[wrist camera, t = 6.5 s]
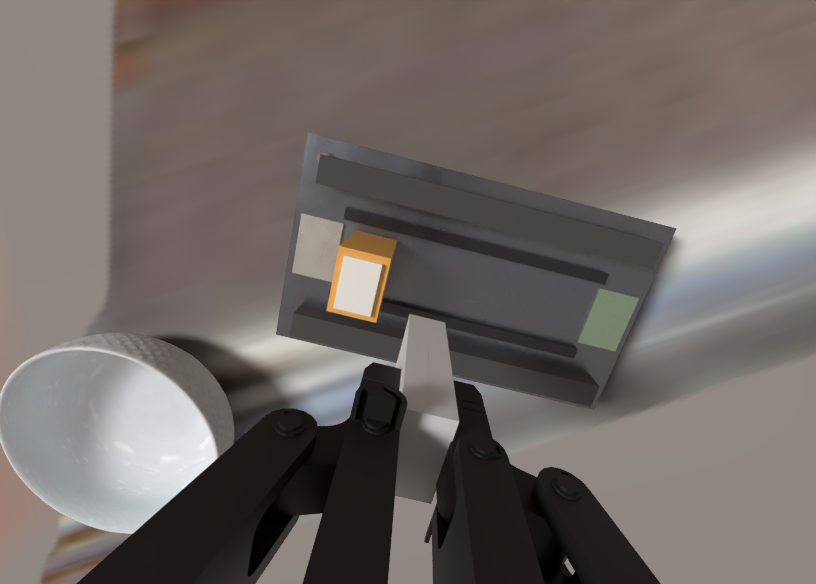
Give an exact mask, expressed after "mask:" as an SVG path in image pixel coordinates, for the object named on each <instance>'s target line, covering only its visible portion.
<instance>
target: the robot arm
mask: <svg viewBox="0 0 816 584" xmlns="http://www.w3.org/2000/svg"><path fill="white" fill-rule="evenodd" d="M435 491H437V504H436V507H435V510H434V513H433V516H432V519H431V521H430V524H429V527H428V530H427V533H426V536H425V541H424V542H426V543H429V540H430V537H431V535H432V553H433V554H432V555H433V584H660V582H659V581H658V580H657V578H656V577H655V576H654V574H653V573H652V572H651V571H650V569H649V568H648V566H647V565H646V564H645V563H644V561H643V560H642V559H641V557H640V556H639V555H638V553H637V552H636V551H635V550H634V548H633V547H632V545H631V544H630V543H629V541H628V540H627V539H626V537H625V536H624V535H623V533H622V532H621V531H620V529H619V528H618V527H617V526H616V524H615V523H614V522H613V520H612V519H611V518H610V517H609V515H608V514H607V512H606V511H605V510H604V508H603V507H602V506H601V505H600V503H599V502H598V500H597V499H596V498H595V497H594V495H593V494H592V493H591V491H590V490H589V489H588V488H587V487H586V485H585V484H584V483H583V482H582V481H581V480H579V479H578V478H576V477H575V476H574V475H572V474H571V473H569V472H566V471H564V470H562V469H558V468H554V467H549V468H544V469H543V470H541V471H540V472H539V475H538V477H535V476H533V475H531V474H529V473H526V472H524V471H522V470H520V469H518V468H516V467H514V466H513V465H511V464H510V462H509V459H508V455H507V454H506V452H505V450H504V448H503V447H502V446H501V445H500V444H499V443H498V442H497V441H495V440H493V438H492V434H491V430H490V426H489V423H488V419H487V415H486V411H485V407H484V403H483V399H482V395H481V394H480V393H479V391H478V390H477V389H476V388H475V386H474V385H471V384H467V383H463V382H458V381H454V380H453V375H452V368H451V361H450V354H449V347H448V340H447V333H446V326H445V322H441V321H437V320H433V319H429V318H424V317H420V316H416V315H412V314H410V315H409V318H408V322H407V326H406V330H405V333H404V337H403V341H402V345H401V349H400V352H399V356H398V360H397V364H396V367H391V366H386V365H382V364H378V363H374V362H373V363H372V364H370V365H369V366H368V367H366V368H365V370H364V374H363V378H362V381H361V384H360V387H359V388H358V390H357V391H356V394H355V398H354V403H353V407H352V411H351V415H350V417H349V418H348V419H347V420H346V421H345V422H343V423H341V424H337V425H334V426H317V422H316V421H315V419H314V418H313V417H312V416H311V415H309V414H308V413H306V412H304V411H301V410H297V409H280V410H276V411H273V412H271V413H269V414H268V415H266V416H265V417H264V418H262V419H261V420H260V421H259V422H258V423H257V424H256V425H255V426H253V427H252V428H251V429H250V430H249V431H248V432H247V433H246V434H244V435H243V436H242V437H241V438H240V439H239V440H238V441H237V442H235V443H234V444H233V445H232V446H231V447H230V448H229V449H228V450H226V451H225V452H224V453H223V454H222V455H221V456H220V457H219V458H217V459H216V460H215V461H214V462H213V463H212V464H211V465H210V466H208V467H207V468H206V469H205V470H204V471H203V472H202V473H201V474H199V475H198V476H197V477H196V478H195V479H194V480H193V481H192V482H190V483H189V484H188V485H187V486H186V487H185V488H184V489H183V490H181V491H180V492H179V493H178V494H177V495H176V496H175V497H174V498H172V499H171V500H170V501H169V502H168V503H167V504H166V505H165V506H163V507H162V508H161V509H160V510H159V511H158V512H157V513H155V514H154V515H153V516H152V517H151V518H150V519H149V520H148V521H146V522H145V523H144V524H143V525H142V526H141V527H140V528H139V529H137V530H136V531H135V532H134V533H133V534H132V535H131V536H130V537H128V538H127V539H126V540H125V541H124V542H123V543H122V544H121V545H119V546H118V547H117V548H116V549H115V550H114V551H113V552H112V553H110V554H109V555H108V556H107V557H106V558H105V559H104V560H103V561H101V562H100V563H99V564H98V565H97V566H96V567H95V568H94V569H92V570H91V571H90V572H89V573H88V574H87V575H86V576H85V577H83V578H82V579H81V580H80V581H79V582H78V583H77V584H255V583H256V582H257V580H258V579H259V577H260V575H261V574H262V573H263V571H264V570H265V568H266V567H267V566H268V564H269V563H270V561H271V560H272V558H273V557H274V555H275V553H276V552H277V551H278V549H279V548H280V546H281V545H282V543H283V542H284V540H285V539H286V537H287V536H288V534H289V533H290V531H291V530H292V528H293V527H294V525H295V524H296V522H297V520H298V518H299V516H300V515H307V514H319V513H323V514H322V518H321V521H320V525H319V529H318V532H317V535H316V539H315V542H314V546H313V549H312V553H311V556H310V560H309V563H308V567H307V571H306V574H305V577H304V581H303V584H388V571H389V559H390V548H391V536H392V523H393V511H394V499H395V496H399V497H404V498H408V499H413V500H417V501H422V502H426V503H430V504H431V502H432V500H433V497H434V494H435ZM567 558H568V560H569V562H570V563H571V565H572V567H573V569H574V570H575V573H574V574H573V575H572V574H571V573H570V572H569V570H568V569H567V567H566V565H565V564H564V563H565V561H566V559H567Z"/></svg>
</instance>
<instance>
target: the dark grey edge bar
mask: <svg viewBox="0 0 816 584" xmlns="http://www.w3.org/2000/svg"><path fill="white" fill-rule="evenodd" d="M404 333H405V330H403V329H399V328H395V327H391V326H387V325H383V324H378V323H374V322H370V321H366V320H362V319H358V318H354V317H349V316H345V315H341V314H337V313H333V312H329V311H325V310H320V309H316V308H312V307H308V306H304V305H300V306H299V308H298V309H297V310H296V311H295V312H294V314H293V319H292V325H291V331H290V336H293V337H298V338H302V339H306V340H310V341H314V342H319V343H323V344H327V345H331V346H336V347H340V348H344V349H348V350H352V351H357V352H361V353H365V354H369V355H373V356H378V357H382V358H386V359H390V360H395V361H397V360H398V356H399V352H400V349H401V345H402V341H403V337H404ZM448 347H449V354H450V361H451V368H452V374H454V375H458V376H462V377H466V378H470V379H475V380H479V381H483V382H487V383H492V384H496V385H500V386H504V387H508V388H513V389H517V390H521V391H525V392H529V393H534V394H538V395H542V396H546V397H551V398H555V399H559V400H563V401H567V402H572V403H576V404H580V405H584V406H589V407H591V405H592V403H593V401H594V398H595V396H596V394H597V392H598V390H599V387H600V386H599V385H598V384H597V383H596V381H595V380H594V379H593V378H592V376H591V375H590V374H586V373H582V372H578V371H574V370H569V369H565V368H561V367H557V366H553V365H549V364H545V363H540V362H536V361H532V360H528V359H524V358H520V357H515V356H511V355H507V354H503V353H499V352H495V351H491V350H486V349H482V348H478V347H474V346H470V345H466V344H461V343H457V342H453V341H449V340H448Z"/></svg>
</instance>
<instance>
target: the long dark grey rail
mask: <svg viewBox="0 0 816 584" xmlns="http://www.w3.org/2000/svg"><path fill="white" fill-rule="evenodd" d="M316 183H317V184H321V185H325V186H329V187H333V188H337V189H340V190H344V191H348V192H352V193H356V194H360V195H364V196H368V197H372V198H376V199H380V200H384V201H388V202H391V203H395V204H399V205H403V206H407V207H411V208H415V209H419V210H423V211H427V212H431V213H435V214H439V215H442V216H446V217H450V218H454V219H458V220H462V221H466V222H470V223H474V224H478V225H482V226H486V227H489V228H493V229H497V230H501V231H505V232H509V233H513V234H517V235H521V236H525V237H529V238H533V239H537V240H540V241H544V242H548V243H552V244H556V245H560V246H564V247H568V248H572V249H576V250H580V251H584V252H588V253H591V254H595V255H599V256H603V257H607V258H611V259H615V260H619V261H623V262H627V263H631V264H635V265H639V266H642V267H646V268H650V269H653V268H654V266H655V264H656V261H657V259H658V257H659V255H660V253H661V250H662V248H663V246H664V244H665V243H662V242H659V241H655V240H652V239H649V238H645V237H641V236H637V235H633V234H629V233H625V232H622V231H618V230H614V229H610V228H606V227H602V226H598V225H594V224H591V223H587V222H583V221H579V220H575V219H571V218H567V217H563V216H560V215H556V214H552V213H548V212H544V211H540V210H536V209H533V208H529V207H525V206H521V205H517V204H513V203H509V202H505V201H502V200H498V199H494V198H490V197H486V196H482V195H478V194H474V193H471V192H467V191H463V190H459V189H455V188H451V187H447V186H444V185H440V184H436V183H432V182H428V181H424V180H420V179H416V178H413V177H409V176H405V175H401V174H397V173H393V172H389V171H386V170H382V169H378V168H374V167H370V166H366V165H362V164H358V163H355V162H351V161H347V160H343V159H339V158H335V157H331V156H327V155H322V154H320V159H319V165H318V171H317V177H316Z"/></svg>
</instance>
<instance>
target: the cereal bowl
mask: <svg viewBox="0 0 816 584" xmlns="http://www.w3.org/2000/svg"><path fill="white" fill-rule="evenodd" d="M234 430H235V428H234V421H233V416H232V411H231V408H230V405H229V402H228V400H227V396H226V395H225V393H224V391H223V390H222V387H221V386H220V384H219V383H218V382H217V380H216V378H215V377H214V376H213V375H212V374H211V373H210V371H209V370H208V369H206V367H205V366H203V364H202V363H201V362H199V361H198V360H197V359H196V358H194V357H193V355H191V354H188V353H187V352H186V351H184V350H182V349H180V348H178V347H176V346H175V345H172V344H171V343H167V342H165V341H163V340H160V339H156V338H153V337H150V336H144V335H140V334H133V333H106V334H97V335H91V336H87V337H83V338H78V339H76V340H72V341H68V342H66V343H63V344H60V345H58V346H56V347H53V348H51V349H48V350H46V351H44V352H41V353H39V354H37V355H35V356H33V357H32V358H30V359H28V360H27V361H25V362H24V363H22V364H21V365H20V366H19V367H18V368H17V369H15V370H14V372H13V373H12V374H11V375H10V376H9V378H8V380H7V381H6V383H5V385H4V387H3V389H2V391H1V394H0V441H1V445H2V447H3V450H4V452H5V454H6V456H7V458H8V460H9V462H10V464H11V466H12V467H13V469H14V470H15V472H16V473H17V474H18V476H19V477H20V478H21V480H22V481H23V482H24V483H25V484H26V485H27V486H28V487H29V488H30V489H31V490H32V491H33V492H34V493H35V494H36V495H37V496H38V497H39V498H40V499H42V500H43V501H44V502H45V503H46V504H48V505H49V506H51V507H52V508H54V509H55V510H57V511H58V512H60V513H61V514H63V515H65V516H67V517H69V518H71V519H73V520H75V521H78V522H80V523H83V524H85V525H88V526H91V527H95V528H98V529H101V530H106V531H110V532H116V533H127V534H133V533H134V532H135V531H136V530H137V529H139V528H140V527H141V526H142V525H143V524H144V523H145V522H146V521H148V520H149V519H150V518H151V517H152V516H153V515H154V514H155V513H157V512H158V511H159V510H160V509H161V508H162V507H163V506H165V505H166V504H167V503H168V502H169V501H170V500H171V499H172V498H174V497H175V496H176V495H177V494H178V493H179V492H180V491H181V490H183V489H184V488H185V487H186V486H187V485H188V484H189V483H190V482H192V481H193V480H194V479H195V478H196V477H197V476H198V475H199V474H201V473H202V472H203V471H204V470H205V469H206V468H207V467H208V466H210V465H211V464H212V463H213V462H214V461H215V460H216V459H217V458H219V457H220V456H221V455H222V454H223V453H224V452H225V451H226V450H228V449H229V448H230V447H231V446H232V445H233V444H234V438H235V435H234Z"/></svg>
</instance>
